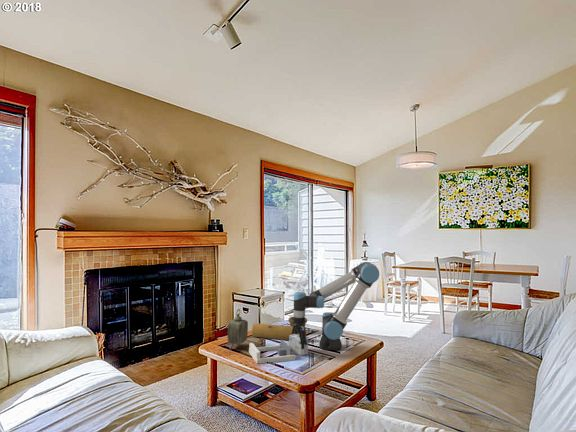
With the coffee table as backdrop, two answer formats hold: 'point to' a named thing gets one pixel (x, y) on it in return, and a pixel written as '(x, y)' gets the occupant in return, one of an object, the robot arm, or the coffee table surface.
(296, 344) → the light bulb box
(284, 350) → the pusher
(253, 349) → the open rectangular frame
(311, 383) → the coffee table surface
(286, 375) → the coffee table surface
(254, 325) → the log
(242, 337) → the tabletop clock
